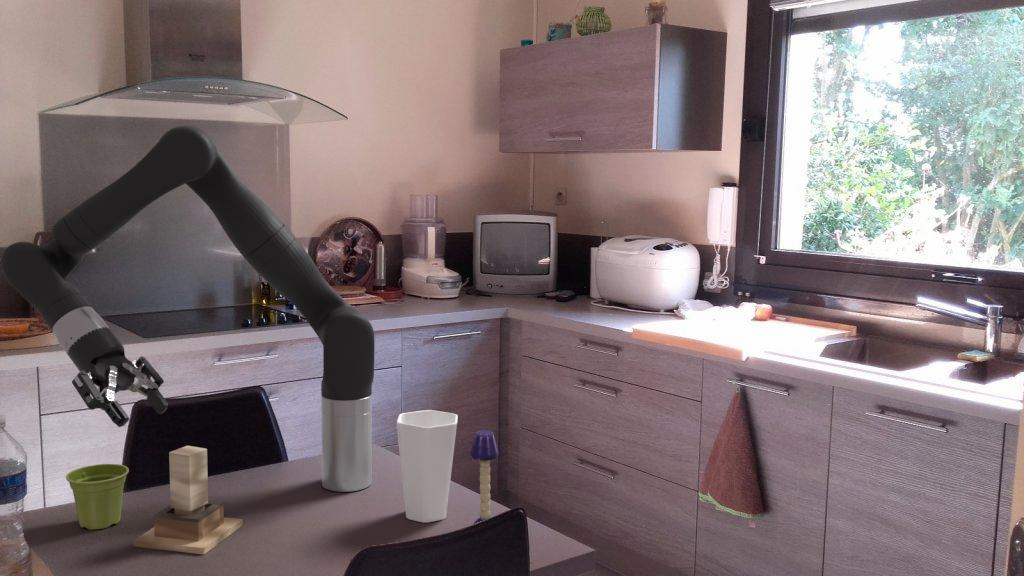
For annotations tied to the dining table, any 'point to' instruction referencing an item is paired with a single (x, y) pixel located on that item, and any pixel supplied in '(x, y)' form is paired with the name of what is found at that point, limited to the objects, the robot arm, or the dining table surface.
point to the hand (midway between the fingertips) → (145, 417)
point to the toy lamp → (484, 467)
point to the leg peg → (188, 480)
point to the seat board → (189, 530)
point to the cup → (426, 462)
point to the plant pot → (98, 494)
